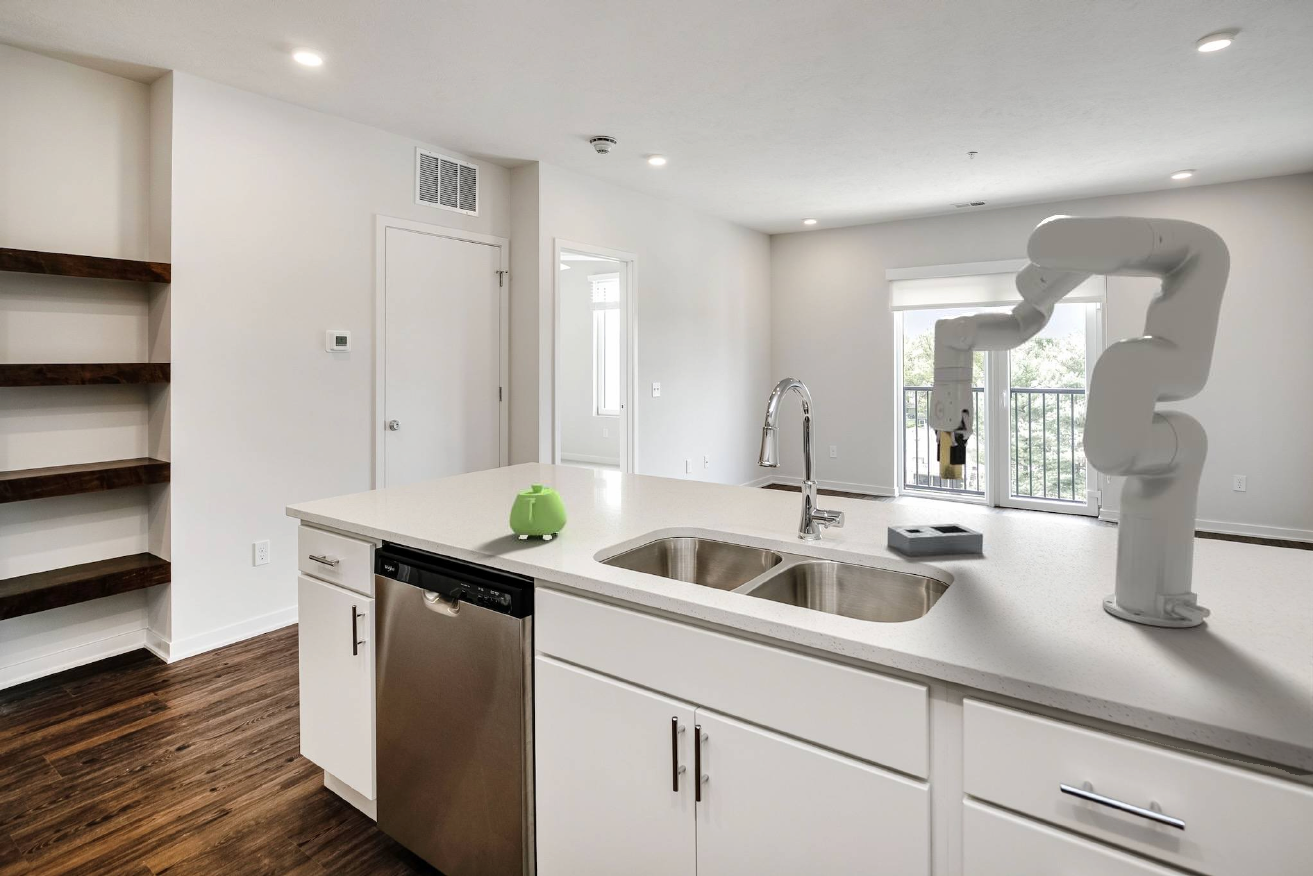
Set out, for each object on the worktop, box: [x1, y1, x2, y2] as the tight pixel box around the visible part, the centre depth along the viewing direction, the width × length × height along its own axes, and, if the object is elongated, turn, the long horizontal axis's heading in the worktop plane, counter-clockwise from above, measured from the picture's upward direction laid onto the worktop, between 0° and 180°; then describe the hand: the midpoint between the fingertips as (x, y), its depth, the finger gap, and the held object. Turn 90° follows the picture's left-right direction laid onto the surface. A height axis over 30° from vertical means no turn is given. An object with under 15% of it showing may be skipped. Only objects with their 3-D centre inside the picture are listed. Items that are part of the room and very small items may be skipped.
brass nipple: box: [939, 428, 963, 480], centre depth 145 cm, size 4×4×12 cm
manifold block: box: [887, 523, 984, 558], centre depth 146 cm, size 10×16×4 cm, turn 96°
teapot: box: [509, 483, 568, 536], centre depth 165 cm, size 20×13×13 cm
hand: (950, 462), depth 145 cm, fingers closed on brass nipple, 4 cm apart
